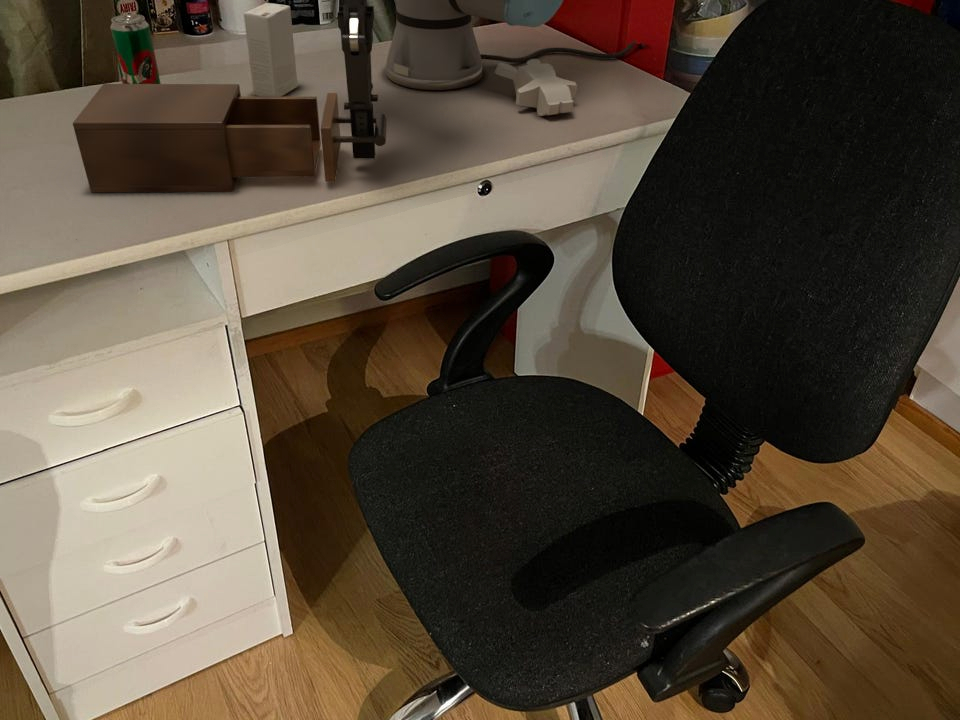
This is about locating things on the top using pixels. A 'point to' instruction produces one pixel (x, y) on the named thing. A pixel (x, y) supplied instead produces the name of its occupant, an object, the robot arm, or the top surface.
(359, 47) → the robot arm
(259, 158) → the drawer
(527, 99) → the white blocky figurine
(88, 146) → the cabinet
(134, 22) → the soda can
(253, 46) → the cosmetic box
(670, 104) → the top surface
